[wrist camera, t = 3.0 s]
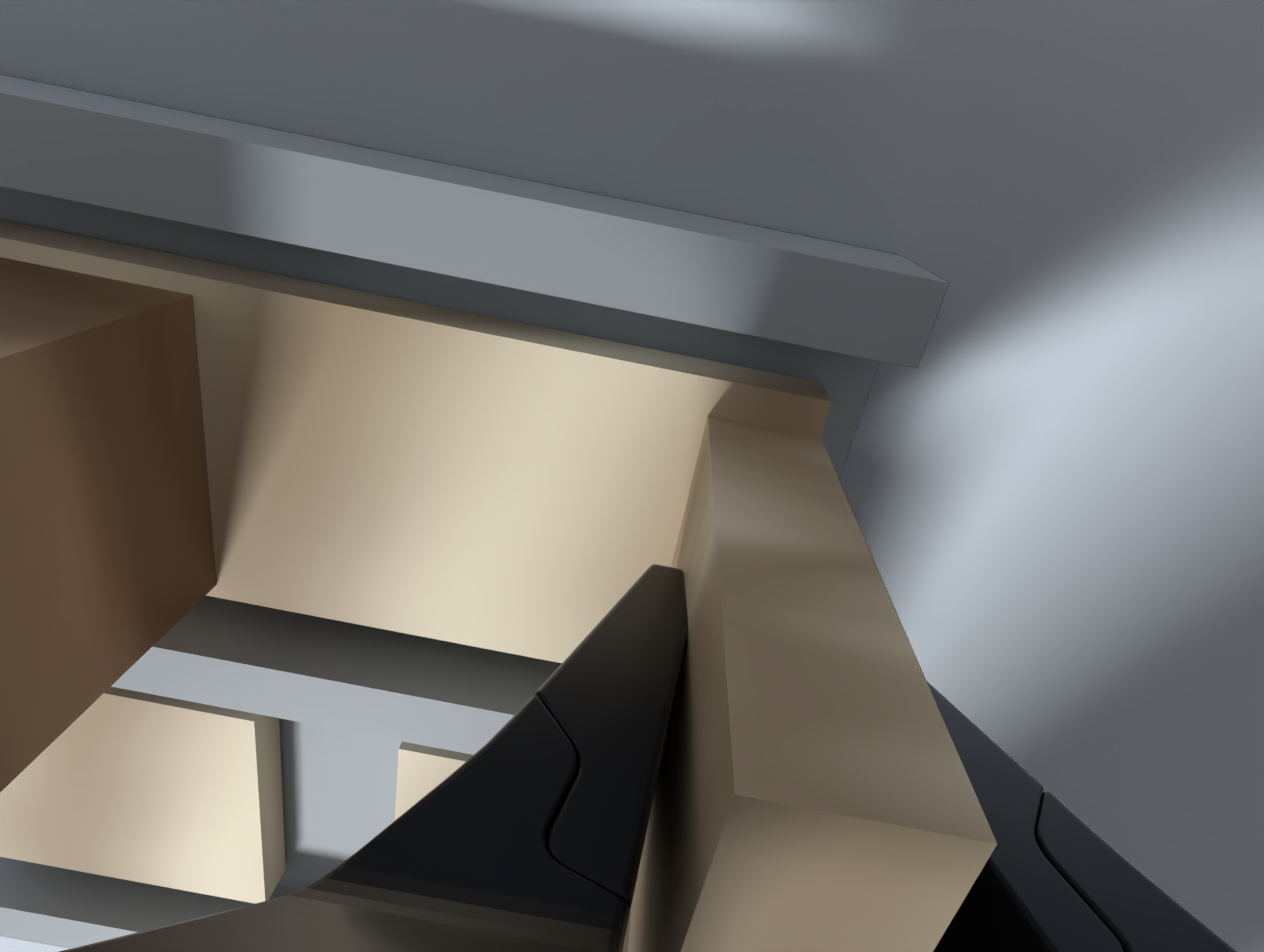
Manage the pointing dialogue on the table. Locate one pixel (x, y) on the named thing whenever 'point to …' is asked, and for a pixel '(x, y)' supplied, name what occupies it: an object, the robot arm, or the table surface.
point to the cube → (92, 491)
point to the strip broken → (173, 796)
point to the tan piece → (594, 574)
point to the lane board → (435, 275)
